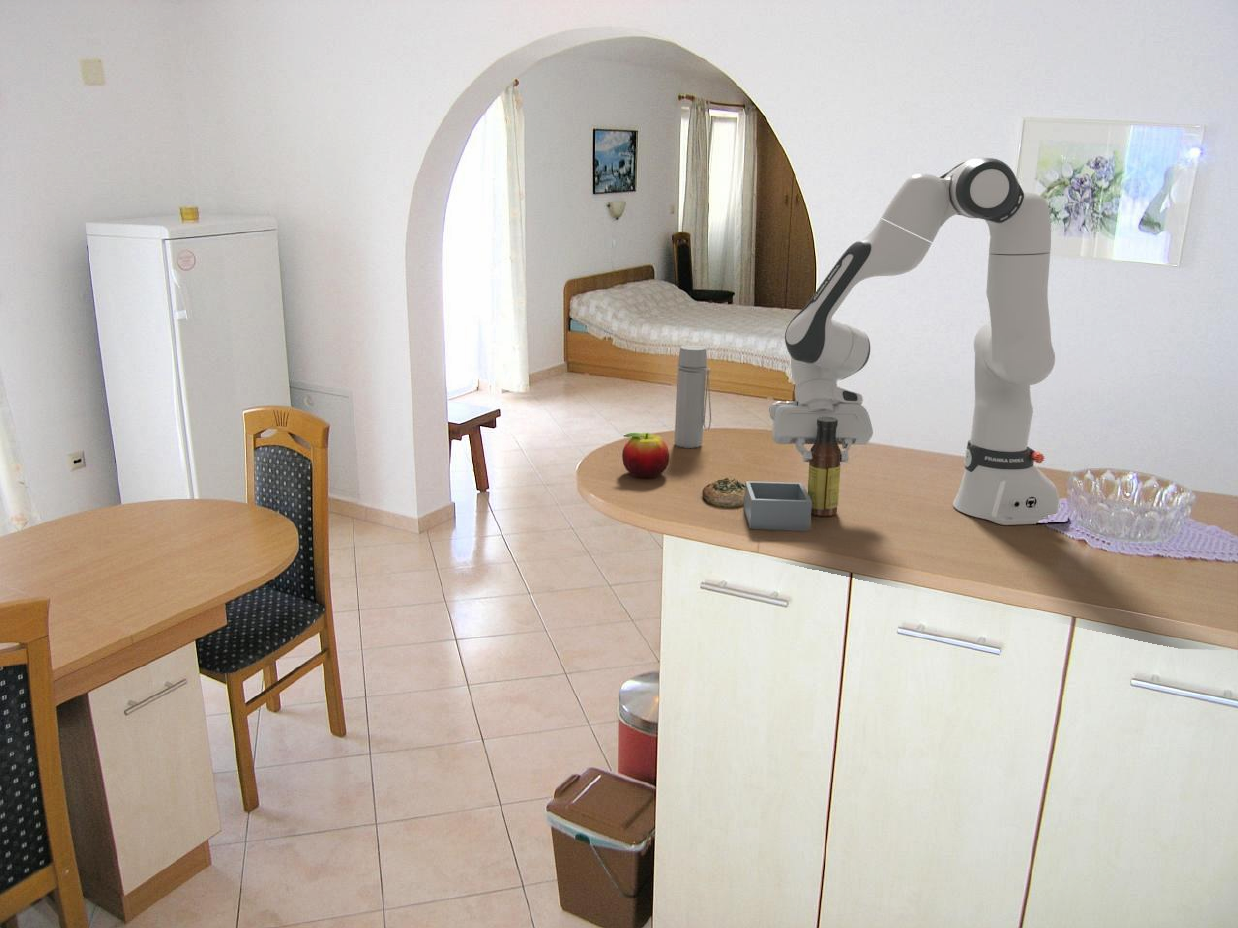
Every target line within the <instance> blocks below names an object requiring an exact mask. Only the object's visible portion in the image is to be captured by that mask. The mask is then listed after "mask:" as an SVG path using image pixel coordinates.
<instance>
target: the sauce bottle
mask: <svg viewBox="0 0 1238 928" xmlns="http://www.w3.org/2000/svg"><path fill="white" fill-rule="evenodd" d="M837 426H838V420H837V419H836V418H833V417H819V418H818V419H817V437H816V438H817V440H816V441H815V443H814V444H812V447H811V448H810V450H809V451H812V460H811V462H808V463H809V464H808V480H807V481H808V482H807V493H808V495H809V497H810V499H811V501H812V508H811V515H814V516H818V517H832V516H835V515H837V513H838V506H839V498H840V497H839V494H840V481H841V480H840V479H841V464H842V463H841V462H840V456H841V451H842V450H841V449H840V445H838V444H837V442H836V427H837Z"/></svg>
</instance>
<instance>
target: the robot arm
mask: <svg viewBox="0 0 1238 928" xmlns="http://www.w3.org/2000/svg"><path fill="white" fill-rule="evenodd" d="M956 215H958V216H963V217H965V218H969V219H980V220H984V221H985V222H986V224H987V226H988V230H989V236H990V238H989V248H988V260H987V263H988V264H987V279H986V298H987V301H988V307H989V308H988V309H989V317H990V322H987V323H985V324H984V325H982V326H981V327H980V328H979V329H978V331H977V332H976V334H975V336H974V340H973V351H974V407H973V416H972V423H971V424H972V425H971V431H970V438H969V440H968V441H967V445H966V449H965V453H964V466H963V467H964V473H963V475H962V480H961V482H960V485H959V489H958V491H957V494H956V496H955V497H954V500H953V502H952V507H954V509H956V510H957V511H958V512H961V513H963V514H966V515H968V516H971V517H975V518H978V519H983V520H987V521H990V522H993V523H996V524H999V525H1003V526H1009V525H1010V526H1011V525H1012V526H1013V525H1014V526H1015V525H1033V524H1034V525H1035V524H1036V523H1037V522H1038V521H1039V520H1043V519H1049V518H1048V515H1052V514H1056V513H1058V512H1059V505H1060V497H1059V496H1060V495H1059V491H1058V488H1057V486H1056V485H1055V484H1054V482H1053V481H1052V480H1050V479H1049V478H1048V477H1047V475H1045V474H1044V473H1043V472H1042V471H1041V470H1040V469H1039V468H1038V467H1036V466H1035V464H1034V463H1036V464H1042V463H1043V462H1044V461H1045V456H1044V454H1042V453H1041V452H1040V451H1035V450H1034V449H1033V448H1030V447H1029V446H1028V445H1029V439H1030V432H1031V427H1032V426H1031V425H1032V420H1033V412H1034V411H1033V409H1034V408H1033V405H1032V398H1031V386H1032V385H1036V384H1039V383H1041V382H1042V381H1044V380H1046V378H1047V377H1048V376H1049V375H1050V374H1052V371H1053V369H1054V366H1055V364H1056V355H1055V353H1056V352H1055V351H1054V347H1053V343H1052V333H1051V332H1052V331H1051V320H1050V312H1049V299H1048V296H1049V295H1048V294H1049V293H1048V292H1049V291H1048V287H1049V273H1050V263H1051V262H1050V260H1051V248H1052V247H1051V246H1052V228H1051V227H1052V224H1051V215H1050V206H1049V204H1048V202H1047V200H1046V199H1045V198H1044V197H1043V196H1041V195H1038V194H1036V193H1032V192H1024V190H1023V188H1022V186H1021V185H1020V183H1019V181H1018V179H1017V177H1016V174H1015V172H1014V171H1013V170H1012V168H1011V167H1010V166H1009V165H1008V164H1006V162H1004V161H1002V160H1000V159H999V158H992V157H984V156H983V157H975V158H971V159H968V160H966V161H963V162H961V163H959V164H957V165H956V166H954V167H953V168H952V169H950V170H949V171H947V172H945V173H944V174H943V175H941V176H940V177H938V176H936V175H934V174H930V173H916V174H912V175H911V176H910V177H908V178H907V179H906V180H905V182H903V184H902V185H901V187H900V188H899V189H898V191H896V193H895V194H894V196H893V197H892V199H891V201H890V202H889V204H888V205H887V207H886V208H885V210H884V212H883V214H882V216H881V217H880V220H878V223H877V224H876V226H875V227H874V229H872V230H871V231H870V233H868V234H867V236H865V237H864V238H863V239H862V240H858V241H856V242H854V243H852V244H851V245H850V246H848V248H847V249H846V250H845V251H844V252H843V254H842V255H841V256H840V258H839V259H838V260H837V262H836V263H835V264H834V266H833V267H832V268H831V269H830V271H829V273H828V274H827V276H826V277H825V278H824V280H823V281H822V282H821V284H820V286H819V287H818V288H817V289H816V291H815V292H814V294H813V295H812V297H810V299H809V300H808V302H807V303H806V305H805V306H804V307H803V308H802V309H801V310H800V311H799V312H798V313H797V314H796V315H795V316H794V317H793V318H792V320H791V321H790V322H789V324H788V325H787V328H786V330H785V334H784V342H785V347H786V349H787V352H788V354H789V356H790V366H791V367H790V368H791V375H792V376H791V377H792V378H793V381H794V384H795V386H794V399H795V401H781V400H780V401H776V402H775V403H772V404H771V405H770V406H769V408H768V411H769V417H770V419H771V420H772V427H771V433H772V441H773V442H775V444H777V445H795V449H796V450H797V451H798V453H800V455H801V456H802V461H803V463H809V462H811V460H812V451H810V450H807V448H806V447H805V445H814V443H815V441H816V440H817V438H816V437H817V419H818V418H819V417H833V418H836V419H837V420H838V426H837V427H836V442H837V444H838V446H840V445H842V447H841V448H842V449H844V451H842V450H841V456H840V463H848V462H849V459H850V457H849V451H850V449H851V448H852V446H853V445H854V446H856V445H857V446H864V445H867V444H868V443H869V442H870V440H871V439H872V438H873V435H874V430H873V429H874V428H873V426H872V421H871V418H870V415H869V412H868V410H867V409H866V407H865V406H863V405H862V404H863V401H864V399H863V396H862V394H860V393H857V392H856V391H855V392H854V391H851V390H847V389H845V388H843V387H840V386H838V384H837V383H838V381H841V380H845V379H846V378H849V377H851V376H853V375H855V374H857V373H858V372H859V371H862V369H863V368H865V366H866V365H867V363H868V361H869V358H870V356H871V355H870V354H871V342H870V339H869V336H868V334H866V333H865V332H864V331H861V330H860V329H857V328H855V327H853V326H850V325H848V324H845V323H841V322H840V321H839V322H838V321H836V320H834V319H832V318H833V316H834V315H835V313H836V312H837V310H838V309H839V308H840V307H841V305H842V303H843V302H845V300H846V298H847V297H848V295H849V294H850V292H851V291H852V289H854V288H855V286H856V285H858V284H859V283H861V281H862V282H863V281H865V280H866V279H869V278H874V277H888V276H889V277H891V276H898V275H899V276H900V275H903V274H905V273H909V272H911V271H912V270H914V269H916V268H917V267H918V266H919V265H920V264H921V262H922V261H923V259H924V258H925V256H926V255H927V253H928V251H929V250H930V247H931V246H932V244H933V242H934V240H935V239H936V236H937V235H938V233H939V232H940V229H941V227H943V226H944V224H945V223H946V222H947V221H948V220H949V219H950V218H951V217H953V216H956ZM1044 517H1046V518H1044ZM1036 525H1037V524H1036Z"/></svg>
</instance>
